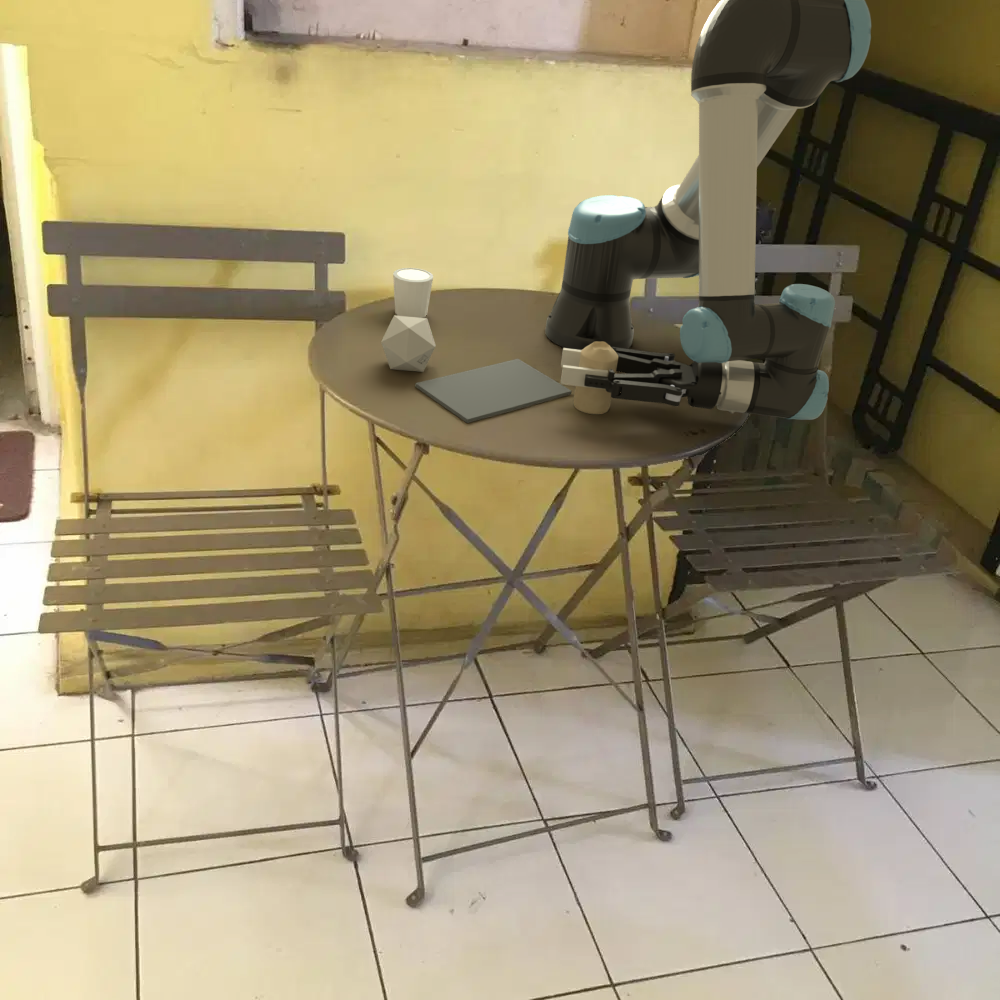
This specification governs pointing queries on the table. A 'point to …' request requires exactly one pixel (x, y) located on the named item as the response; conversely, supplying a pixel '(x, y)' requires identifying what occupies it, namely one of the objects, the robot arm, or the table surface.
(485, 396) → the mat
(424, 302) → the shot glass
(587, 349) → the candle
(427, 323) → the die
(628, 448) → the table surface
